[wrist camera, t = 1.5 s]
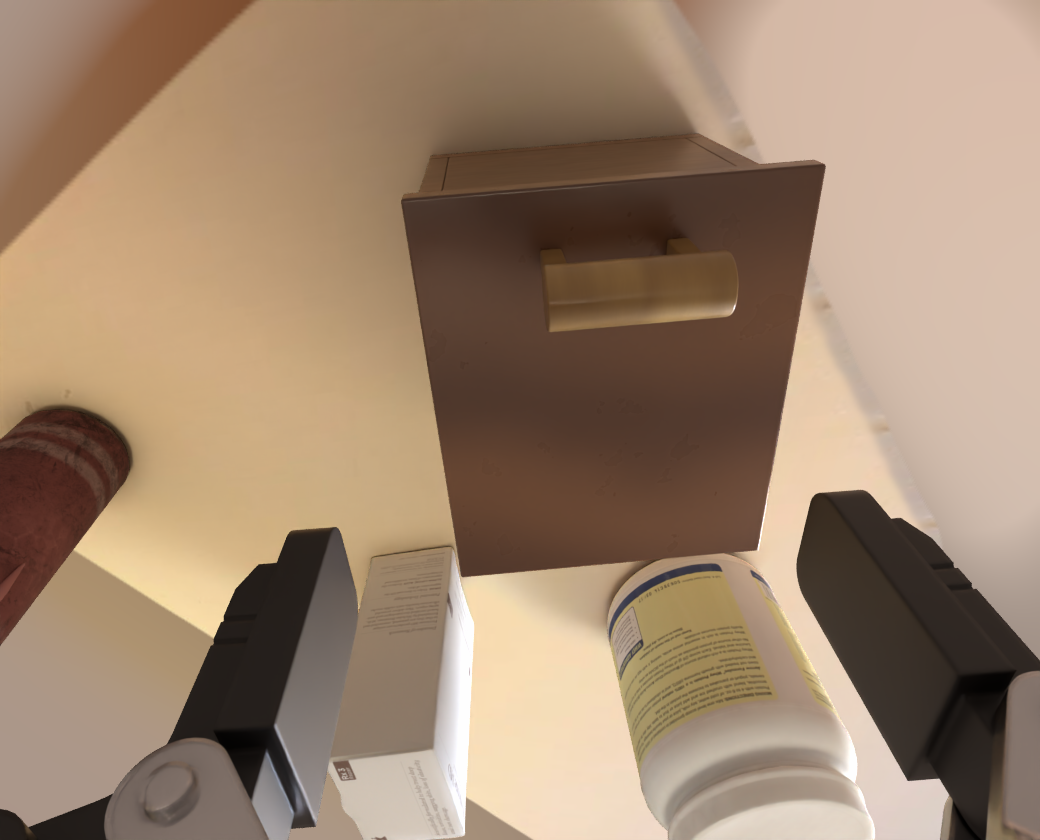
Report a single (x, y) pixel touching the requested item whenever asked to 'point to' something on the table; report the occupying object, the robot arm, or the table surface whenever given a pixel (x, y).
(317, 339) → the table surface
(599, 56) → the table surface
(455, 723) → the cosmetic box
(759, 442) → the lid
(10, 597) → the can
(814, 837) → the supplement tub
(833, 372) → the table surface
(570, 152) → the chest
